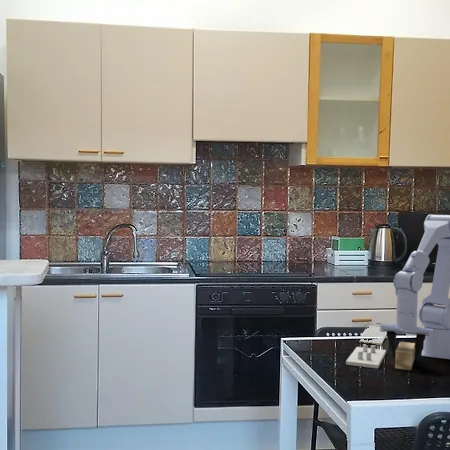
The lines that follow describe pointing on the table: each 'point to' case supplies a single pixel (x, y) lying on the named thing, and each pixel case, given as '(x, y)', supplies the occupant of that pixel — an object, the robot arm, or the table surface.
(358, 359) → the peg rack
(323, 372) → the table surface
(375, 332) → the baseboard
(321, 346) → the table surface
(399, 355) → the tan block
